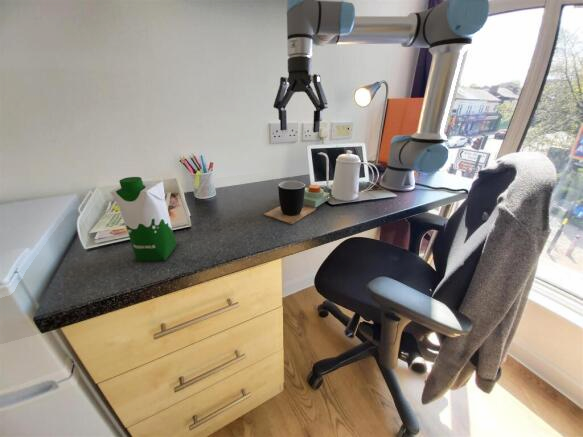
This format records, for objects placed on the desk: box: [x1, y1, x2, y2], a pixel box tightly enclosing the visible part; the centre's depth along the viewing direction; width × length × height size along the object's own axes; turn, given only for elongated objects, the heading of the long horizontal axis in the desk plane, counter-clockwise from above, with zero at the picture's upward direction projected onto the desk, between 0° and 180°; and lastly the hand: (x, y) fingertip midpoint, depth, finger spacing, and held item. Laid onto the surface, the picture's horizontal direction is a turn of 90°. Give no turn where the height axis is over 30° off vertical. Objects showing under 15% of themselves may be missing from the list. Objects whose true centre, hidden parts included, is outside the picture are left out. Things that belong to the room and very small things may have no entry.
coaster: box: [263, 205, 317, 225], centre depth 84 cm, size 12×15×1 cm
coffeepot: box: [317, 149, 380, 202], centre depth 94 cm, size 11×25×19 cm, turn 62°
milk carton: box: [110, 176, 178, 262], centre depth 56 cm, size 9×9×20 cm
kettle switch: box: [308, 184, 321, 193], centre depth 91 cm, size 4×4×2 cm
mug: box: [277, 180, 306, 216], centre depth 82 cm, size 12×9×10 cm
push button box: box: [303, 187, 331, 209], centre depth 94 cm, size 14×11×4 cm
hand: (299, 131), depth 81 cm, fingers open, 13 cm apart
